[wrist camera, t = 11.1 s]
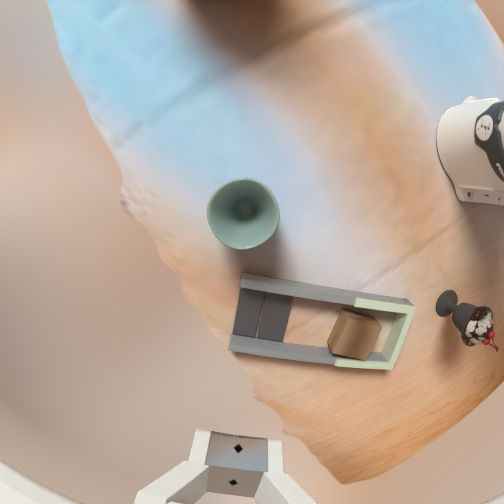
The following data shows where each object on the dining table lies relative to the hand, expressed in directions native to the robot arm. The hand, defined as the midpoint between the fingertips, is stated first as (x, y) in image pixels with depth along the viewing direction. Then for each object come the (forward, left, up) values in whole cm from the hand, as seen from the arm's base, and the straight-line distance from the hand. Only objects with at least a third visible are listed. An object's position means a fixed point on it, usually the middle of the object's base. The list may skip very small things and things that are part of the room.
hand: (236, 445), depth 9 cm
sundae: (-35, +4, -35) cm, 50 cm away
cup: (+2, -5, -35) cm, 36 cm away
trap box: (-13, +10, -35) cm, 39 cm away
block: (-18, +11, -35) cm, 41 cm away
